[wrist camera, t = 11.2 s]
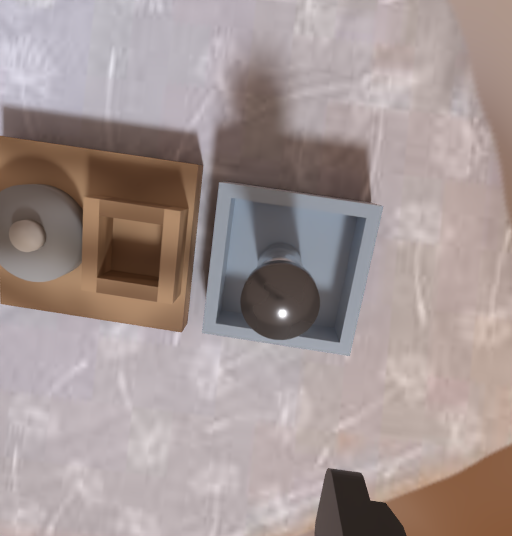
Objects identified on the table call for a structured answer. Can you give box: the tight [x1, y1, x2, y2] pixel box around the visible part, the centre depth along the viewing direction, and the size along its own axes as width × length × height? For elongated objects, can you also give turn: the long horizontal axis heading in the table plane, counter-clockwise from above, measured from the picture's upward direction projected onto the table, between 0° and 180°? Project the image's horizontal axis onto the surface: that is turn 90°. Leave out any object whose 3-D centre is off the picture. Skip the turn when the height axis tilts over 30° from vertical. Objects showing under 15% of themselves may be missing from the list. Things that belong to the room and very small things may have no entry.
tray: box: [202, 181, 383, 356], centre depth 30 cm, size 12×12×4 cm
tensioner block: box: [0, 136, 203, 332], centre depth 30 cm, size 14×16×5 cm
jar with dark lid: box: [240, 242, 320, 340], centre depth 27 cm, size 5×5×10 cm
